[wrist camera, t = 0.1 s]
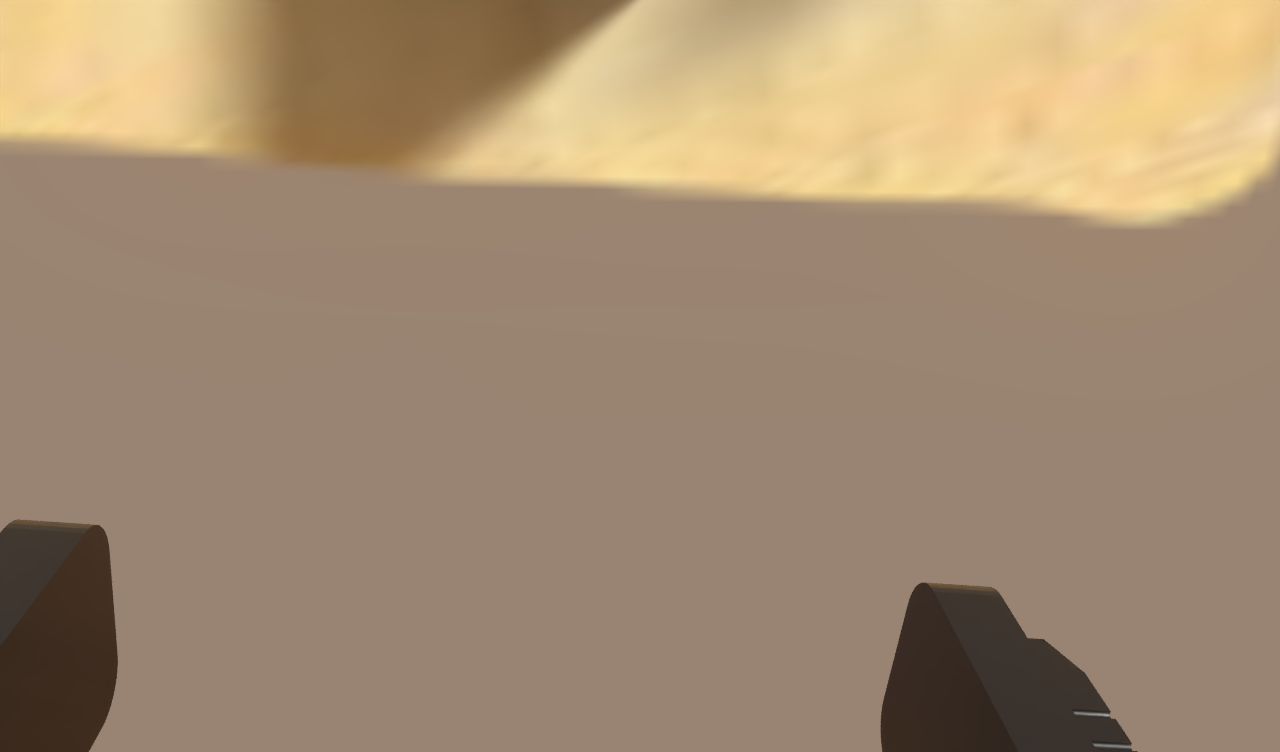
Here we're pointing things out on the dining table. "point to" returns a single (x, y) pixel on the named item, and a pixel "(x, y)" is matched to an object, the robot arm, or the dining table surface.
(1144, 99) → the dining table surface
